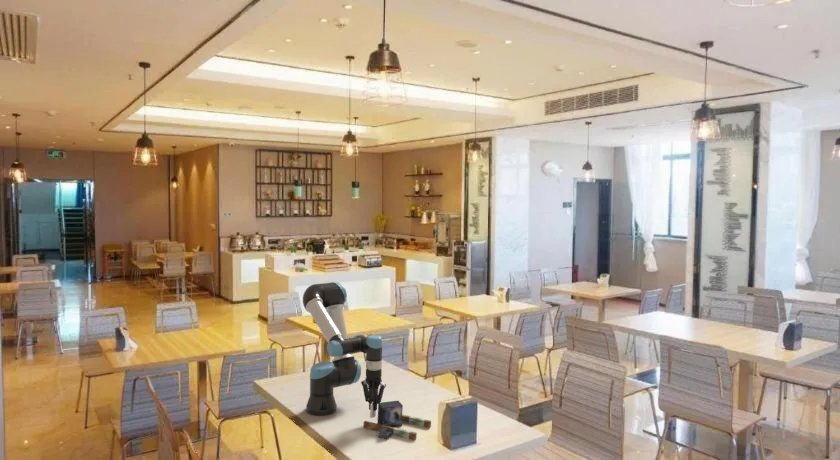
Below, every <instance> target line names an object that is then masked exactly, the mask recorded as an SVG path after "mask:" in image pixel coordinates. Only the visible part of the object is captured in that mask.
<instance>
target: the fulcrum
mask: <svg viewBox="0 0 840 460" xmlns="http://www.w3.org/2000/svg"><path fill="white" fill-rule="evenodd" d="M392 437H393V435H392V432H389V427H386V426H385V427H384V428H382V429H381V431H380V432H377V438H379V439H383V440H389V439H390V438H392Z"/></svg>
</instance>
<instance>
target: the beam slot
mask: <svg viewBox="0 0 840 460" xmlns="http://www.w3.org/2000/svg"><path fill="white" fill-rule="evenodd" d="M402 423H406V424H411V425H416V426H419V427H424V428H428V429H430V428H431V427H432V420H430V419H425V418H421V417H415V416H412V415H411V416H410V415H406V414H403V413H402ZM362 424H363V429H365V430H370V431H373V432H377V433H379V432H380V431H381V429H382V428H384V427H385V425H381V424H377V422H372V421H368V420H364V421H363V423H362ZM386 427H389V432H392V436H395V437H398V438H399V437H400V438H402V439H403V438H404V439H407V440H410V441H411V440H412V441H416V440H417V432H415V431H411V430H406V429H402V428H398V427H390V426H386Z"/></svg>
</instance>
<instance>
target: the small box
mask: <svg viewBox="0 0 840 460" xmlns="http://www.w3.org/2000/svg"><path fill="white" fill-rule="evenodd" d="M403 405H404V404H402V403H401V401H399V400H391V401H390V400H389V401H383V402H382V401H381V402H380V403H378V404H377V422H376V423H377V424H381V425H385V426H390V427H394V428H398V427H403V422H402V414H403Z"/></svg>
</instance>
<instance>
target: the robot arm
mask: <svg viewBox="0 0 840 460" xmlns="http://www.w3.org/2000/svg"><path fill="white" fill-rule="evenodd" d="M347 297H348V293H347V290H346V288H345V286H344V285H343V284H342V283H340V282H333V281H332V282H323V283H314V284H311V285H309V286H308V287H307V288H306V289H305V290H304V292H303V295H302V304H303V307H304V309H305V311H306V312H307V313H309V314H310V315H311V317H312V318H313V320H314V321H315V324H316V325H317V326H318V328H319V330H320V332H321V333H322V335H323V337H324V338H325V340H326V341H327V344H326V350H327V354H328V355H329V356H330V357H331V358H332V357H333V359H332V361H319V362H317V363H315V364H313V365H312V366H311V367H310V372H309V397H308V400H307V403H306V407H305V408H306V409H305V410H306V413H307V414H310V415H312V416H328V415H331V414H333V413H335V412H336V411H337V410H338V409H337V407H338V406H337V402H336V399H335V396H334V388H339V387H344V386H349V385H352V384H357V382H359V380H361V379H360V378H361V375H362V365H361V363H360V361H359V360H357V359H355V356H354V355H353V354H359V353H363V354H365V361H366V362H365V368H366V369H365V379H364V380H362V381H361V382H360V384H361V385H362V390H363V395H364V399H365V400H364V401H365V402H367V403H368V410H369V411H370V414H369V415H370V416H369V418H371V419H373V418H375V417H376V416H377V415H376V412H377V411H378V403H381V402H382V399H383V396H384V395H383V394H384V391H385V388H386V387H387V384H386V383H384V382H383V381H382V373H383V372H382V367H383V365H382V364H383V360H382V359H383V338H382V336H381V335H376V334H372V335H368V336H365V335H362V334H356V335H354V336H353V337H348V332H347V328H346V322H345V318H344V317H345V315H344V312H343V308H344V307H345V303H346V302H347Z"/></svg>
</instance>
